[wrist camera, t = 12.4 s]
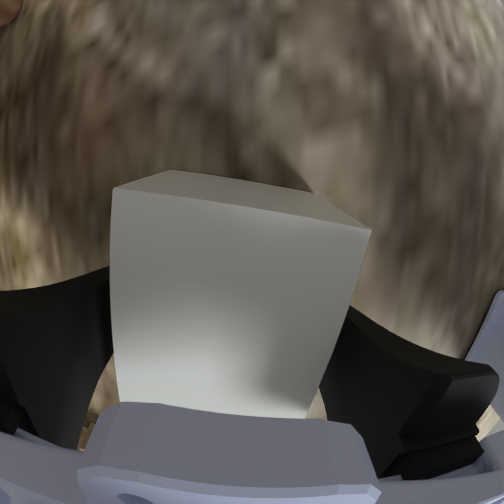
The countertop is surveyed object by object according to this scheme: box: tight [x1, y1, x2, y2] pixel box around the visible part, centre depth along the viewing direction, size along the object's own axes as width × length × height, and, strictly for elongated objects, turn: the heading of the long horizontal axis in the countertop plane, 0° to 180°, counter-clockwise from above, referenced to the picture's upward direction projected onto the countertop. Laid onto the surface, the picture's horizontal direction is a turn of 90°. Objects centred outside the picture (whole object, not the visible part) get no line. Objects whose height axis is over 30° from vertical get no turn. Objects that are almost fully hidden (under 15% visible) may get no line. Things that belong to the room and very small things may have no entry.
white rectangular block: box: [110, 170, 372, 419], centre depth 10 cm, size 6×9×6 cm, turn 170°
